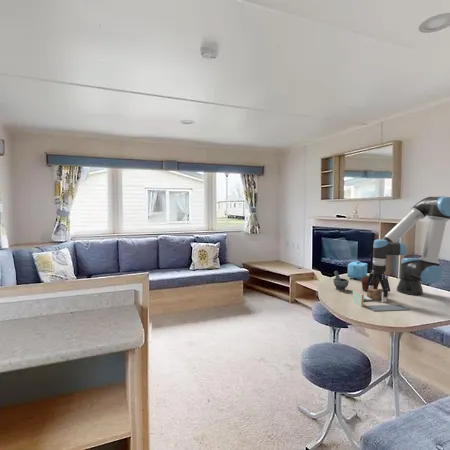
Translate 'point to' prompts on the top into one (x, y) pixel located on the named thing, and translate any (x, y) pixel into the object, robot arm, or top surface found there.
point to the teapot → (357, 270)
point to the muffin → (365, 284)
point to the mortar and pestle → (340, 282)
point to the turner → (374, 294)
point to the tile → (358, 298)
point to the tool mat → (387, 307)
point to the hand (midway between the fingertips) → (377, 298)
